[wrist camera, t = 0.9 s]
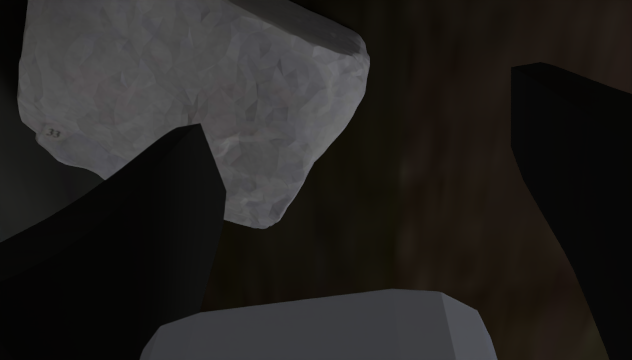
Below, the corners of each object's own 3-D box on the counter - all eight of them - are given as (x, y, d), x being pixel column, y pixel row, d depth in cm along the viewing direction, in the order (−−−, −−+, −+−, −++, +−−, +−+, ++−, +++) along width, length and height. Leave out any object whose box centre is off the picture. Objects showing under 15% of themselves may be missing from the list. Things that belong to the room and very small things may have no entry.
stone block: (294, 183, 26) (389, 19, 19) (276, 259, 23) (383, 93, 16) (59, 90, 24) (71, -132, 17) (0, 159, 21) (-15, -83, 14)
